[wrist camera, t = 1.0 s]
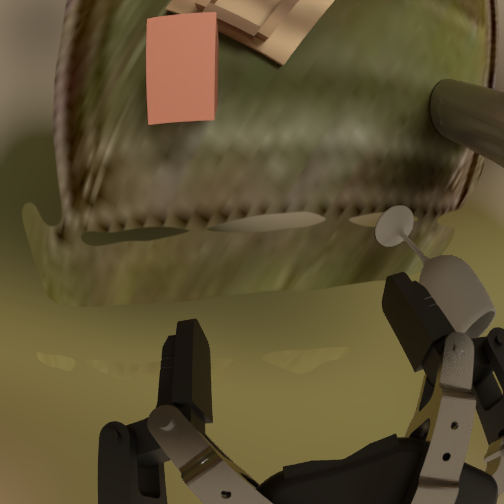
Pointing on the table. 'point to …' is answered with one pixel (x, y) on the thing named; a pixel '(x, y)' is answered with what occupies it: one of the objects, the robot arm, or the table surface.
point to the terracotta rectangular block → (182, 67)
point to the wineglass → (442, 277)
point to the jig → (261, 21)
